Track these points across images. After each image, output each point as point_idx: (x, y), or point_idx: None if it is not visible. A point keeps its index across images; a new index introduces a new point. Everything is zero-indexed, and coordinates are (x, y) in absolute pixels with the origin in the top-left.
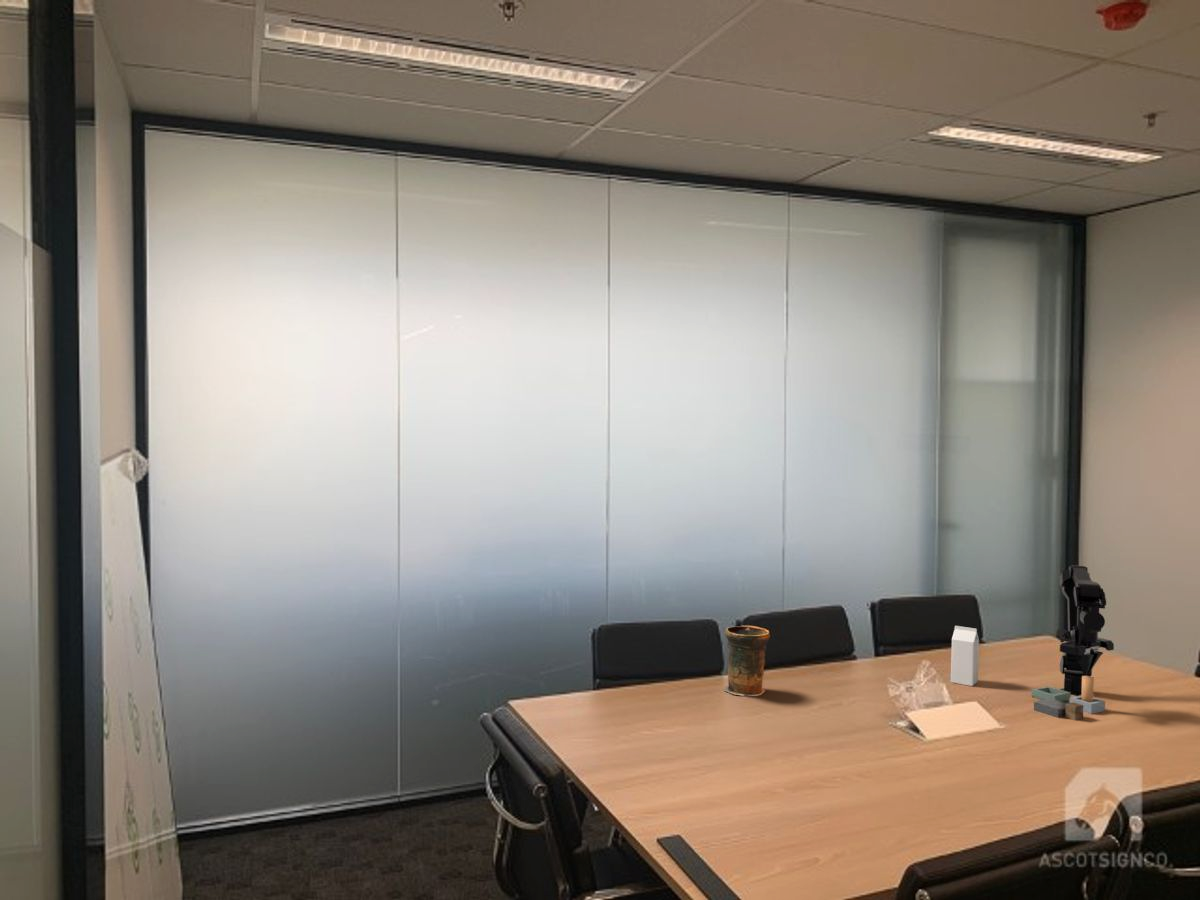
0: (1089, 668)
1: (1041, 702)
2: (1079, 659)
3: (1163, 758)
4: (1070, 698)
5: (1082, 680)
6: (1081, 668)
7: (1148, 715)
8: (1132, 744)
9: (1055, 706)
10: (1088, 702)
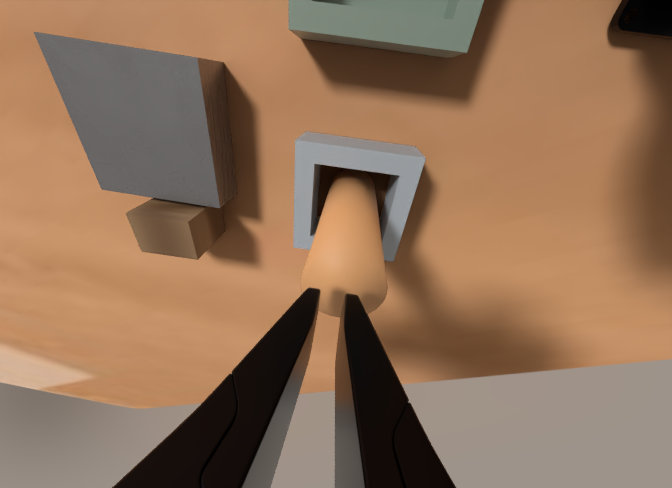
0: (336, 369)
1: (79, 72)
2: (165, 459)
3: (171, 385)
4: (295, 145)
5: (313, 248)
6: (277, 321)
7: (448, 322)
8: (176, 351)
9: (115, 162)
10: (306, 231)
